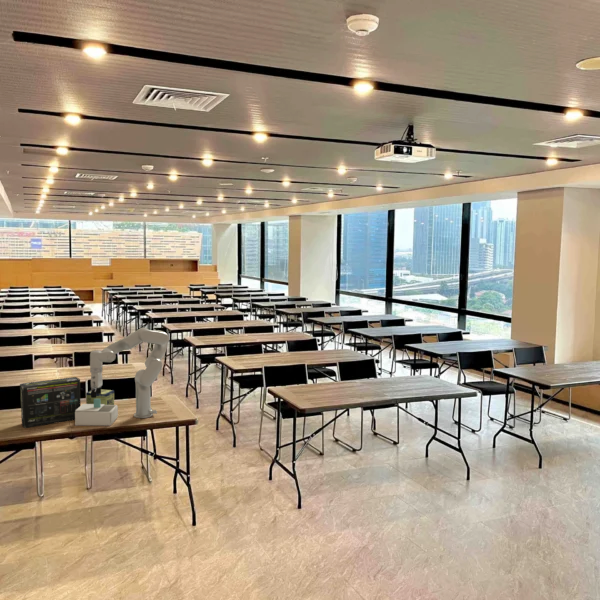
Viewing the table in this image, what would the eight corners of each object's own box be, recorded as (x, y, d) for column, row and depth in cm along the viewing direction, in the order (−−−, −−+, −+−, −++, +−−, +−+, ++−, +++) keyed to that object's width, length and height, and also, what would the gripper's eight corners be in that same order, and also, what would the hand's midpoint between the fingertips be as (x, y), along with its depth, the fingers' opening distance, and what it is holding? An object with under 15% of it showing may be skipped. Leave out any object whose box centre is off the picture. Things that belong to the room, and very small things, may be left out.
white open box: (118, 418, 380) (118, 405, 379) (111, 425, 364) (111, 412, 363) (83, 417, 379) (83, 404, 378) (75, 425, 363) (74, 411, 362)
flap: (104, 404, 378) (104, 395, 377) (97, 411, 363) (97, 402, 362) (83, 404, 377) (83, 395, 376) (75, 411, 362) (75, 402, 362)
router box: (77, 414, 385) (76, 376, 382) (82, 419, 376) (81, 379, 373) (19, 423, 364) (18, 383, 361) (23, 428, 355) (21, 386, 352)
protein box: (106, 416, 382) (106, 394, 381) (85, 414, 385) (85, 392, 384) (114, 412, 393) (114, 390, 391) (94, 410, 396) (94, 388, 394)
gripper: (97, 372, 359) (97, 399, 361) (106, 367, 376) (105, 392, 378) (85, 372, 359) (85, 399, 360) (94, 366, 376) (94, 392, 378)
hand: (96, 395), depth 369 cm, fingers open, 9 cm apart
